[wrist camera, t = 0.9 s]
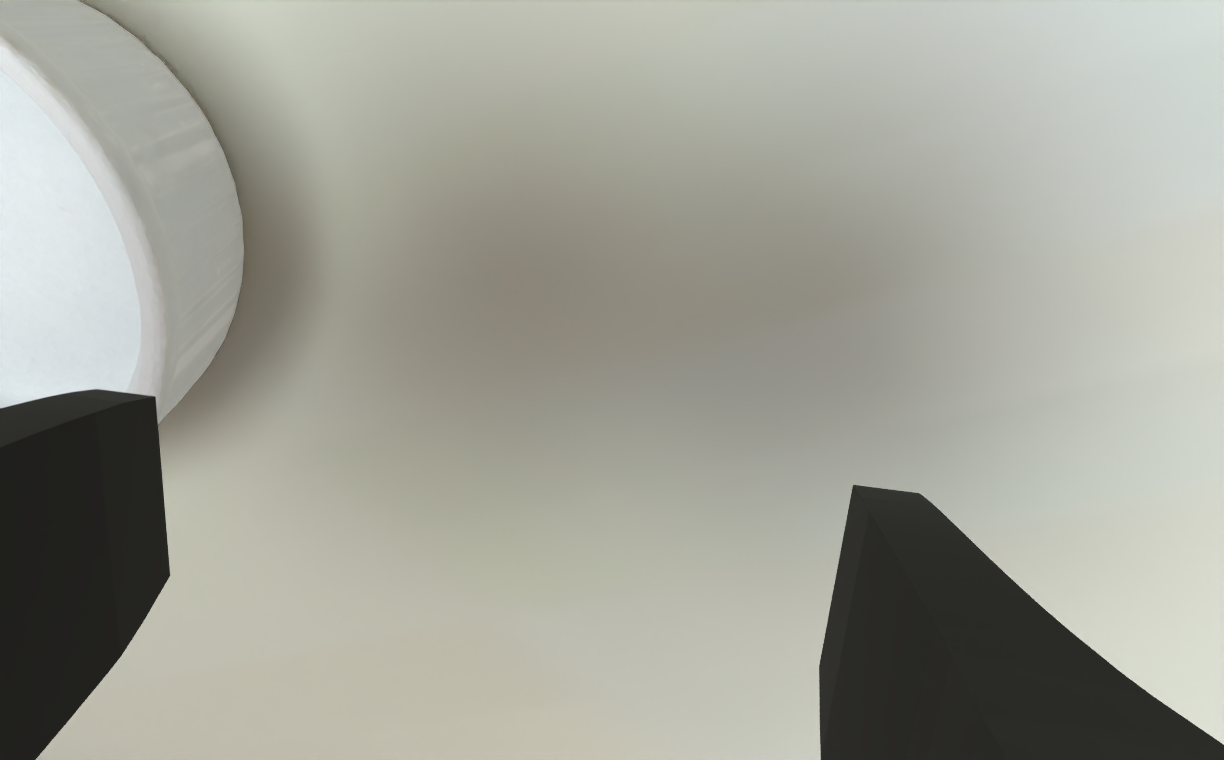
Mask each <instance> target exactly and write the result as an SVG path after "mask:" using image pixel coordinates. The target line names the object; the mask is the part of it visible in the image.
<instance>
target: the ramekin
mask: <svg viewBox="0 0 1224 760" xmlns="http://www.w3.org/2000/svg"><path fill="white" fill-rule="evenodd" d="M243 260H244V242H243V219H242V214H241V209H240V205H239V201H238V196H237V192H236V186H235V182H234V179H233V176H232V173H231V171H230V168H229V165H228V162H227V159H226V157H225V154H224V151H223V149H222V148H221V146H220V144H219V142H218V140H217V138H216V136H215V134H214V132H213V130H212V128H211V125H210V123H209V122H208V120H207V118H206V117H205V115H204V114H203V112H202V110H201V109H200V107H199V106H198V105H197V103H196V102H195V101H194V99H193V98H192V97H191V95H190V93H189V92H188V91H187V90H186V89H185V87H184V86H183V85H182V84H181V83H180V81H179V80H178V79H177V78H176V77H175V76H174V74H173V73H172V72H171V71H170V70H169V69H168V68H167V67H166V65H165V64H164V63H163V62H162V61H161V60H160V59H159V58H158V57H157V56H156V55H154V54H153V53H152V52H151V51H150V50H149V49H148V48H147V47H146V46H145V45H144V44H143V43H142V42H141V41H140V40H139V39H137V38H136V37H135V36H134V35H132V34H131V33H130V32H128V31H127V30H125V29H124V28H123V27H121V26H120V25H118V24H117V23H116V22H114V21H113V20H112V19H110V18H109V17H108V16H106V15H105V14H103V13H101V12H99V11H97V10H95V9H93V8H91V7H89V6H88V5H86V4H84V3H82V2H80V1H78V0H0V408H4V407H8V406H12V405H16V404H20V403H24V402H28V401H32V400H36V399H41V398H45V397H50V396H54V395H59V394H64V393H70V392H76V391H84V390H92V389H101V390H109V391H117V392H124V393H132V394H140V395H148V396H156V408H157V421H158V425H159V423H160V422H161V421H162V420H163V418H164V417H165V416H166V415H167V414H168V413H169V412H170V411H171V410H172V409H173V408H174V407H175V406H176V405H177V404H178V403H179V402H180V400H181V399H182V398H183V397H184V396H185V394H186V393H187V392H188V391H189V390H190V388H191V387H192V386H193V385H194V383H195V382H196V381H197V380H198V379H199V378H200V377H201V375H202V374H203V373H204V372H205V370H206V369H207V368H208V366H209V365H210V363H211V362H212V360H213V358H214V357H215V355H216V353H217V351H218V350H219V348H220V346H221V345H222V343H223V341H224V340H225V338H226V335H227V332H228V330H229V327H230V324H231V322H232V319H233V317H234V314H235V310H236V306H237V302H238V297H239V293H240V288H241V284H242V277H243Z"/></svg>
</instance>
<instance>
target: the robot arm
mask: <svg viewBox="0 0 1224 760" xmlns="http://www.w3.org/2000/svg"><path fill="white" fill-rule="evenodd" d="M169 576H170V569H169V557H168V545H167V532H166V520H165V507H164V495H163V483H162V470H161V458H160V445H159V433H158V421H157V408H156V396H148V395H140V394H132V393H124V392H117V391H109V390H101V389H92V390H84V391H76V392H70V393H64V394H59V395H54V396H50V397H45V398H41V399H36V400H32V401H28V402H24V403H20V404H16V405H12V406H8V407H4V408H0V760H35V759H36V758H37V757H38V756H39V755H40V754H41V752H42V751H43V750H44V749H45V748H46V746H47V745H48V744H49V743H50V742H51V741H52V739H53V738H54V737H55V736H56V735H57V733H58V732H59V731H60V730H61V729H62V728H63V726H64V725H65V724H66V723H67V722H68V720H69V719H70V718H71V717H72V716H73V714H74V713H75V712H76V711H77V710H78V708H79V707H80V706H81V705H82V703H83V702H84V701H85V700H86V699H87V697H88V696H89V695H90V694H91V693H92V691H93V690H94V689H95V688H96V687H97V685H98V684H99V683H100V682H101V680H102V679H103V678H104V677H105V676H106V674H107V673H108V672H109V671H110V669H111V668H112V667H113V666H114V664H115V663H116V662H117V661H118V659H119V658H120V657H121V655H122V654H123V652H124V651H125V649H126V648H127V646H128V644H129V643H130V641H131V640H132V638H133V637H134V635H135V634H136V632H137V630H138V629H139V627H140V626H141V624H142V623H143V621H144V619H145V618H146V616H147V614H148V613H149V611H150V609H151V607H152V606H153V604H154V602H155V601H156V599H157V597H158V595H159V594H160V592H161V590H162V589H163V587H164V585H165V583H166V582H167V580H168V578H169ZM819 684H820V744H821V760H1224V745H1223V744H1222V743H1220V742H1219V741H1217V740H1216V739H1214V738H1213V737H1211V736H1210V735H1209V734H1207V733H1206V732H1204V731H1203V730H1201V729H1200V728H1198V727H1197V726H1195V725H1194V724H1193V723H1191V722H1190V721H1188V720H1187V719H1185V718H1184V717H1182V716H1181V715H1179V714H1178V713H1176V712H1175V711H1174V710H1172V709H1171V708H1169V707H1168V706H1166V705H1165V704H1163V703H1162V702H1160V701H1159V700H1157V699H1156V698H1155V697H1153V696H1152V695H1150V694H1149V693H1148V692H1146V691H1145V690H1144V689H1142V688H1141V687H1140V686H1138V685H1137V684H1136V683H1134V682H1133V681H1132V680H1130V679H1129V678H1128V677H1126V676H1125V675H1124V674H1122V673H1121V672H1120V671H1118V670H1117V669H1116V668H1115V667H1113V666H1112V665H1111V664H1110V663H1109V662H1107V661H1106V660H1105V659H1104V658H1102V657H1101V656H1100V655H1099V654H1097V653H1096V652H1095V651H1094V650H1092V649H1091V648H1090V647H1089V646H1088V645H1086V644H1085V643H1084V642H1083V641H1081V640H1080V639H1079V638H1078V637H1076V636H1075V635H1074V634H1073V633H1072V632H1070V631H1069V630H1068V629H1067V628H1066V627H1064V626H1063V625H1062V624H1061V623H1060V622H1059V621H1057V620H1056V619H1055V618H1054V617H1053V616H1052V615H1051V614H1049V613H1048V612H1047V611H1046V610H1045V609H1044V608H1042V607H1041V606H1040V605H1039V604H1038V603H1037V602H1036V601H1035V600H1034V599H1032V598H1031V597H1030V596H1029V595H1028V594H1027V593H1026V592H1025V591H1024V590H1023V589H1021V588H1020V587H1019V586H1018V585H1017V584H1016V583H1015V582H1014V581H1013V580H1012V579H1011V578H1010V577H1008V576H1007V575H1006V574H1005V573H1004V572H1003V571H1002V570H1001V569H1000V568H999V567H998V566H997V565H996V564H995V563H994V562H993V561H992V560H990V559H989V558H988V557H987V556H986V555H985V554H984V553H983V552H982V551H981V550H980V549H979V548H978V547H977V546H976V545H975V544H974V543H973V542H972V541H971V540H970V539H969V538H968V537H967V536H966V535H965V534H964V533H963V532H962V531H960V530H959V529H958V528H957V527H956V526H955V525H954V524H953V523H952V522H951V521H950V520H949V519H948V518H947V517H946V516H945V515H944V514H943V513H942V512H941V511H940V510H939V509H937V508H936V507H935V506H934V505H933V504H932V503H931V502H930V501H928V500H927V499H926V498H925V497H923V496H922V495H921V494H919V493H912V492H904V491H896V490H888V489H881V488H873V487H865V486H857V485H853V489H852V494H851V499H850V505H849V510H848V515H847V521H846V526H845V532H844V537H843V542H842V548H841V553H840V558H839V564H838V569H837V574H836V580H835V585H834V590H833V596H832V601H831V607H830V612H829V617H828V623H827V628H826V633H825V639H824V644H823V649H822V655H821V660H820V665H819Z"/></svg>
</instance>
